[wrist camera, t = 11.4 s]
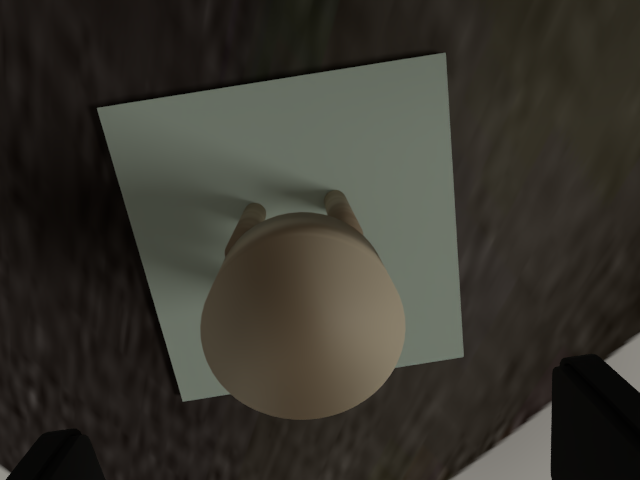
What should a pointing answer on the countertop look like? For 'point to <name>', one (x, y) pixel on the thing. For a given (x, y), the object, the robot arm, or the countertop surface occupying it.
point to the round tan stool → (302, 313)
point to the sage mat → (294, 189)
